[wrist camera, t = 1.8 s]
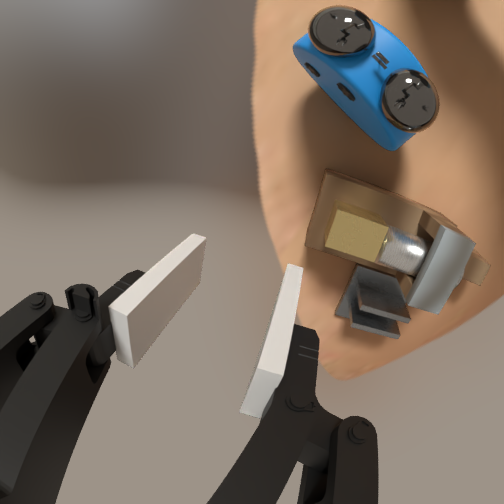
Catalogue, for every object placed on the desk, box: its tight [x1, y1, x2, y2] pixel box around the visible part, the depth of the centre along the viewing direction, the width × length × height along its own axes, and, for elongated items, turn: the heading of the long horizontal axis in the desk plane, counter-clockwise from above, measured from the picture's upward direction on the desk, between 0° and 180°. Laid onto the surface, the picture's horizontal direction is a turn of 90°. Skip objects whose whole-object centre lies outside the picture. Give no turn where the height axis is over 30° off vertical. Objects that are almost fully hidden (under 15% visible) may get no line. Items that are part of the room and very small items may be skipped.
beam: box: [305, 169, 491, 314], centre depth 25 cm, size 24×8×11 cm, turn 77°
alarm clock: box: [293, 5, 440, 151], centre depth 18 cm, size 13×6×15 cm, turn 45°
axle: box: [374, 225, 465, 288], centre depth 24 cm, size 10×4×4 cm, turn 77°
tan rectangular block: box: [324, 199, 389, 262], centre depth 25 cm, size 5×4×4 cm
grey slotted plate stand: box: [335, 263, 411, 339], centre depth 32 cm, size 8×9×6 cm
